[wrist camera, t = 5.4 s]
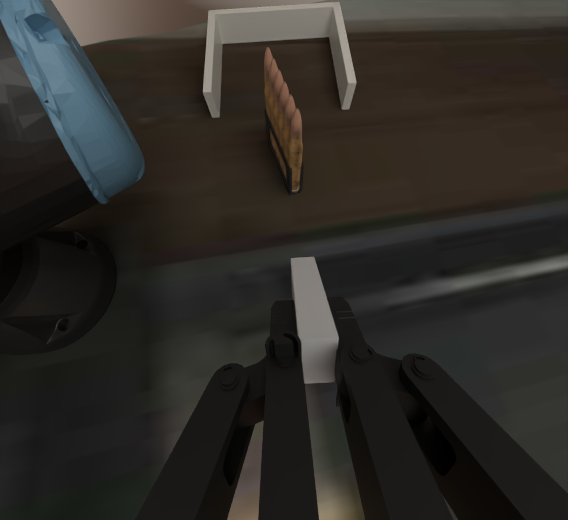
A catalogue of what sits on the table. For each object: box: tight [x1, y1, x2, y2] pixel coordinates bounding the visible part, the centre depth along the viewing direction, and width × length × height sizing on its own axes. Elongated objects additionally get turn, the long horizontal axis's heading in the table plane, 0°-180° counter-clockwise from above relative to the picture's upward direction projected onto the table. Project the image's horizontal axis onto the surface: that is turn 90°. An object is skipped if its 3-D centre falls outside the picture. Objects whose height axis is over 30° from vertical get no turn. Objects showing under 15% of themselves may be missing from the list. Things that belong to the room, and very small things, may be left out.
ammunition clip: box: [264, 47, 304, 195], centre depth 26 cm, size 11×2×12 cm, turn 19°
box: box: [203, 2, 356, 118], centre depth 36 cm, size 22×19×4 cm
